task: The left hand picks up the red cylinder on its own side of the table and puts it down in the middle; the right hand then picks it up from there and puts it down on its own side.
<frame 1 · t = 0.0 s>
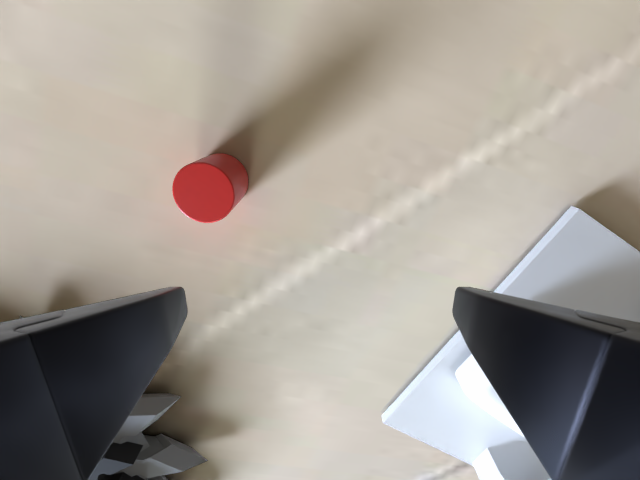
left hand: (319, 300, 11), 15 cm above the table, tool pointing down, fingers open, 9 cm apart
red cylinder: (222, 179, 25), on the table
decorative piece: (60, 434, 34), on the table
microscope: (570, 384, 31), on the table
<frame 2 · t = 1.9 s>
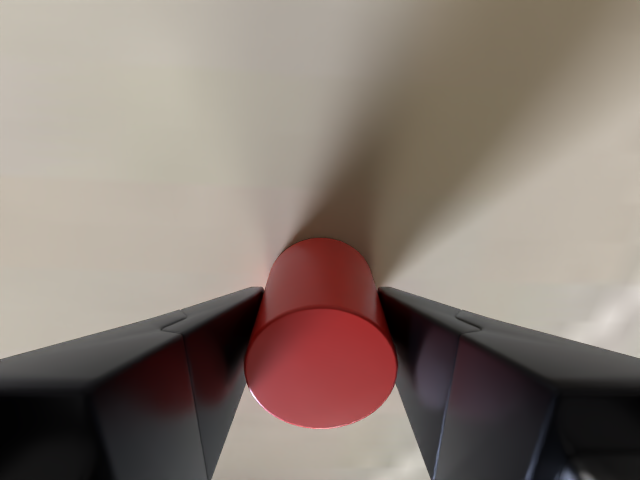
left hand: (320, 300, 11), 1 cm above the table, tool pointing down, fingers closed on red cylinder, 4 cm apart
red cylinder: (320, 285, 12), on the table, touching left hand
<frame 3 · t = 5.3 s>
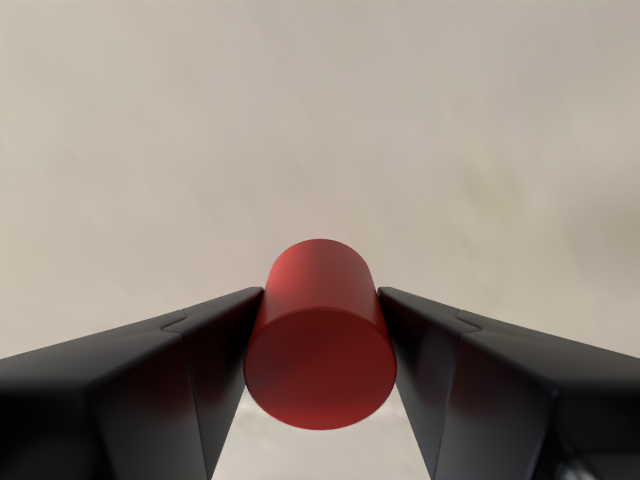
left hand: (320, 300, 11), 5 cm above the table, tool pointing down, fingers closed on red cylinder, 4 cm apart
red cylinder: (320, 286, 12), point 4 cm above the table, touching left hand
when the left hand's fingers open (2 cm above the table, at t = 8.7 s): red cylinder stays where it is, on the table.
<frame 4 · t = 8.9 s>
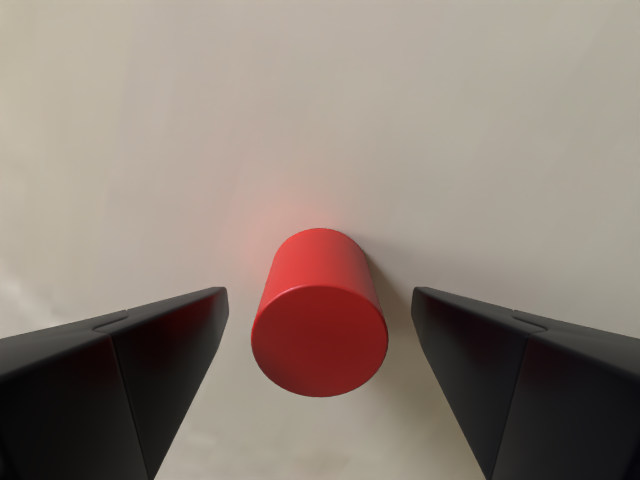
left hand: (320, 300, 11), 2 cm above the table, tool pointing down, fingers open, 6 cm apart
red cylinder: (319, 272, 13), on the table
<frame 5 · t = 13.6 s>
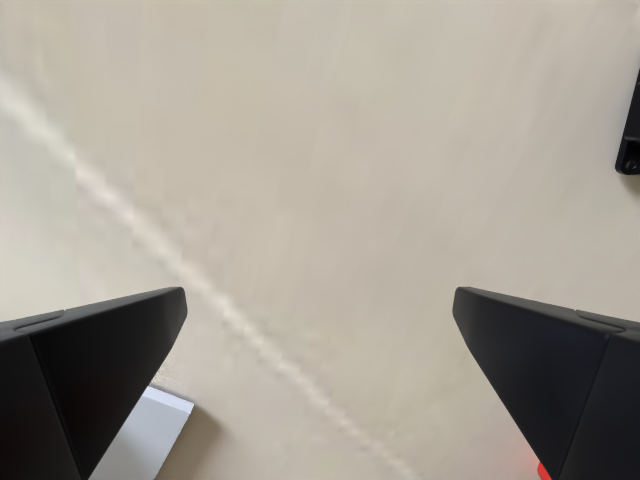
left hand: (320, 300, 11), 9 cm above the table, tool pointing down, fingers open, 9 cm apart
red cylinder: (561, 465, 27), on the table, touching right hand
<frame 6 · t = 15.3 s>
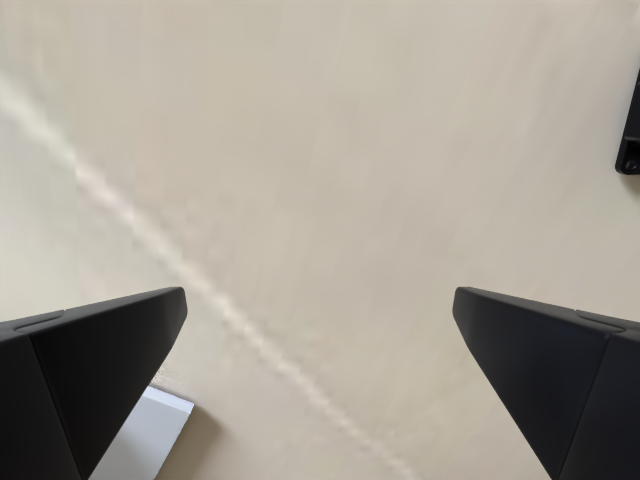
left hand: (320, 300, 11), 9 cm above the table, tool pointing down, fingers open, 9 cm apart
when the right hand's fingers open (2 cm above the table, at t = 17.1 s): red cylinder drops 1 cm, on the table.
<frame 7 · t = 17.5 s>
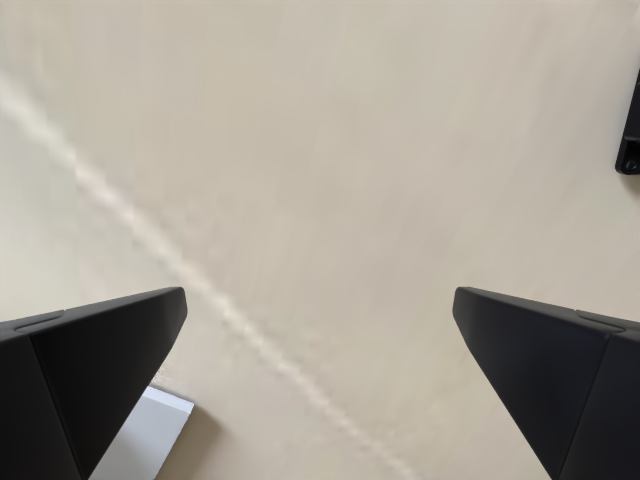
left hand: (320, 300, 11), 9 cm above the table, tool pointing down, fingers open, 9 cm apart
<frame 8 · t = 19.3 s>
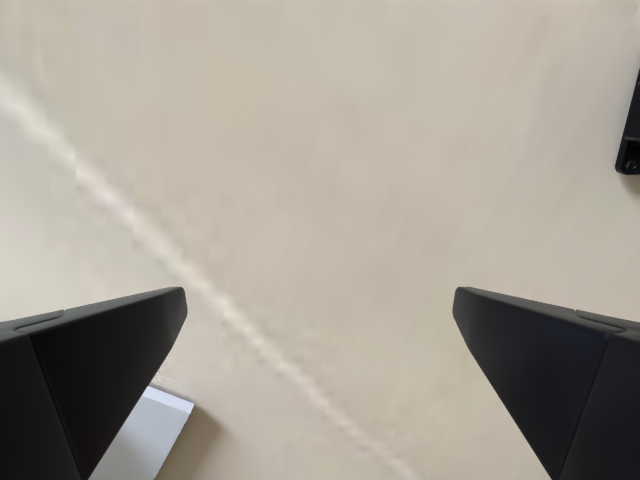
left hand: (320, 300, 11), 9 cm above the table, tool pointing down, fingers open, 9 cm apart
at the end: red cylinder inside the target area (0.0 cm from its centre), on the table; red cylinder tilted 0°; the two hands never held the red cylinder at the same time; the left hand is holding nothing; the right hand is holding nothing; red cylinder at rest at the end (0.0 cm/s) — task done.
